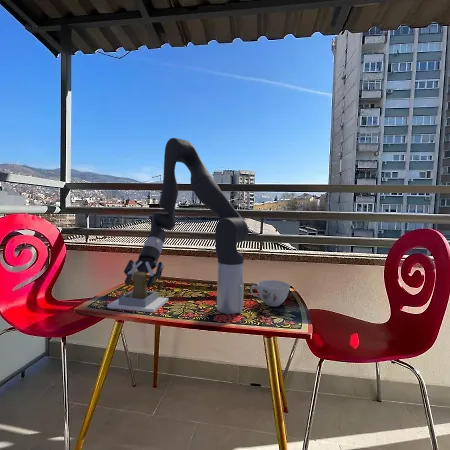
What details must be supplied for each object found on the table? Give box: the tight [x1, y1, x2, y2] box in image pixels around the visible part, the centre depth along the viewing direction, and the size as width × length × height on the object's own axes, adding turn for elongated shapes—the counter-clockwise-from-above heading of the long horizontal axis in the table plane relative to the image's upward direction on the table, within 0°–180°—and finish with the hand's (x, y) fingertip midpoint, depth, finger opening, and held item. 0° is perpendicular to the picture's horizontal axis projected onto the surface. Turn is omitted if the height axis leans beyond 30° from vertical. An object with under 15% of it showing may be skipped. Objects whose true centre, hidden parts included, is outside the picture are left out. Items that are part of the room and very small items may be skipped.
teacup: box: [249, 279, 291, 307], centre depth 107 cm, size 15×12×8 cm
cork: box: [132, 272, 148, 299], centre depth 104 cm, size 6×6×11 cm
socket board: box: [106, 289, 169, 313], centre depth 104 cm, size 18×13×4 cm
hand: (137, 285), depth 102 cm, fingers open, 8 cm apart
